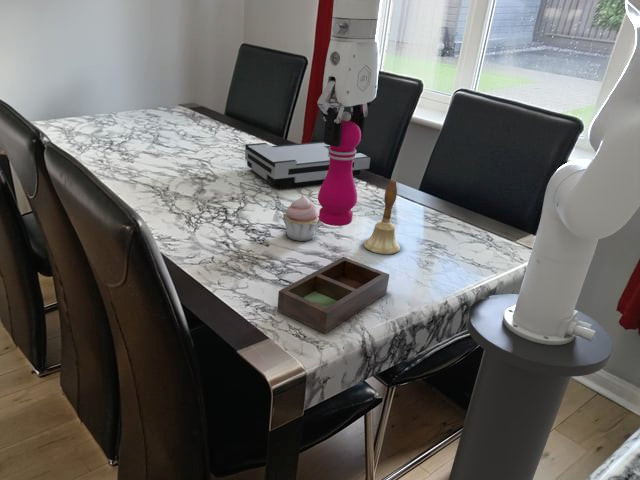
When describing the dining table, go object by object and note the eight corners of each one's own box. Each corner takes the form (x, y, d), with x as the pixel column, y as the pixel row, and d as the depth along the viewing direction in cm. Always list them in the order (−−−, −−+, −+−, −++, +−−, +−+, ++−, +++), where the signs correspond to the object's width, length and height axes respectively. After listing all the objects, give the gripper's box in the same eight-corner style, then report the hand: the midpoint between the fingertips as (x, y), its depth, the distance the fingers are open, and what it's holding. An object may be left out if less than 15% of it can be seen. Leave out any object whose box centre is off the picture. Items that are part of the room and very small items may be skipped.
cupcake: (314, 227, 142) (317, 188, 137) (324, 243, 134) (328, 202, 129) (277, 229, 141) (279, 189, 136) (285, 244, 133) (287, 203, 128)
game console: (367, 180, 176) (370, 153, 172) (273, 191, 164) (275, 163, 160) (332, 161, 193) (334, 136, 189) (244, 170, 181) (245, 144, 177)
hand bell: (388, 237, 138) (398, 173, 130) (406, 252, 131) (418, 185, 124) (357, 241, 136) (366, 175, 128) (374, 256, 129) (384, 187, 121)
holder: (386, 293, 114) (389, 274, 112) (324, 334, 100) (327, 313, 98) (341, 275, 120) (343, 256, 118) (277, 311, 107) (278, 290, 105)
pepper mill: (332, 210, 113) (343, 105, 104) (362, 220, 109) (375, 112, 99) (308, 218, 109) (316, 110, 99) (337, 230, 104) (349, 118, 95)
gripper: (342, 35, 85) (331, 155, 94) (402, 30, 96) (387, 137, 105) (302, 31, 90) (295, 146, 98) (365, 26, 101) (353, 130, 110)
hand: (343, 140), depth 102 cm, fingers closed on pepper mill, 6 cm apart
